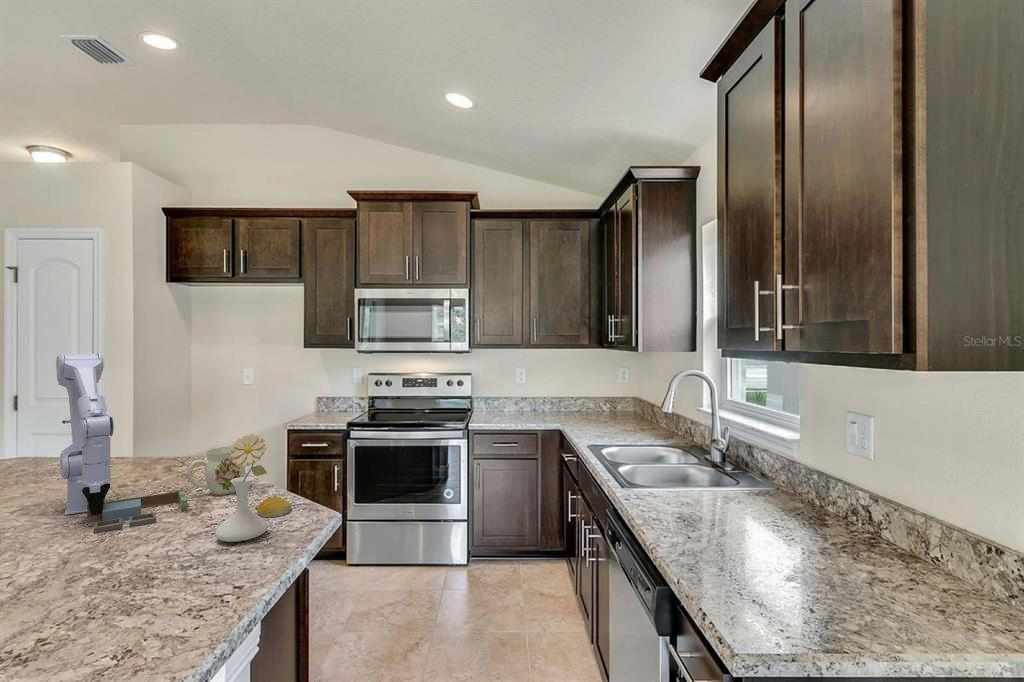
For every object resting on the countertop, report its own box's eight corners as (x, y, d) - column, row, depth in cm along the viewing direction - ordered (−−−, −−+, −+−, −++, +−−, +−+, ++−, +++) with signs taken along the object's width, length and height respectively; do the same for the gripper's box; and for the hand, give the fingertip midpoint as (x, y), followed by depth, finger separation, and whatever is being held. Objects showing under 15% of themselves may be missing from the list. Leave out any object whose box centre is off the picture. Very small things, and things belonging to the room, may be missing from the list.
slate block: (103, 517, 137) (104, 504, 137) (140, 511, 142) (140, 498, 142) (102, 525, 130) (102, 512, 130) (140, 519, 135) (140, 506, 135)
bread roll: (263, 521, 133) (263, 505, 133) (254, 512, 140) (254, 498, 140) (296, 513, 139) (296, 499, 139) (285, 506, 146) (285, 492, 146)
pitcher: (184, 494, 156) (184, 449, 156) (248, 483, 168) (248, 441, 168) (191, 502, 148) (191, 455, 148) (257, 490, 160) (258, 447, 160)
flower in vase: (203, 542, 118) (203, 435, 118) (244, 525, 129) (244, 427, 129) (245, 550, 114) (245, 439, 114) (284, 532, 125) (284, 430, 125)
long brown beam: (87, 515, 137) (87, 504, 137) (183, 500, 150) (183, 490, 150) (84, 528, 127) (84, 516, 127) (186, 510, 141) (186, 500, 141)
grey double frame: (94, 527, 128) (94, 522, 128) (155, 516, 136) (155, 512, 136) (93, 533, 124) (93, 528, 124) (156, 522, 131) (156, 518, 131)
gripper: (78, 459, 137) (78, 509, 136) (73, 469, 125) (73, 525, 125) (112, 455, 141) (112, 504, 141) (110, 465, 129) (110, 519, 129)
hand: (96, 513), depth 133 cm, fingers closed
